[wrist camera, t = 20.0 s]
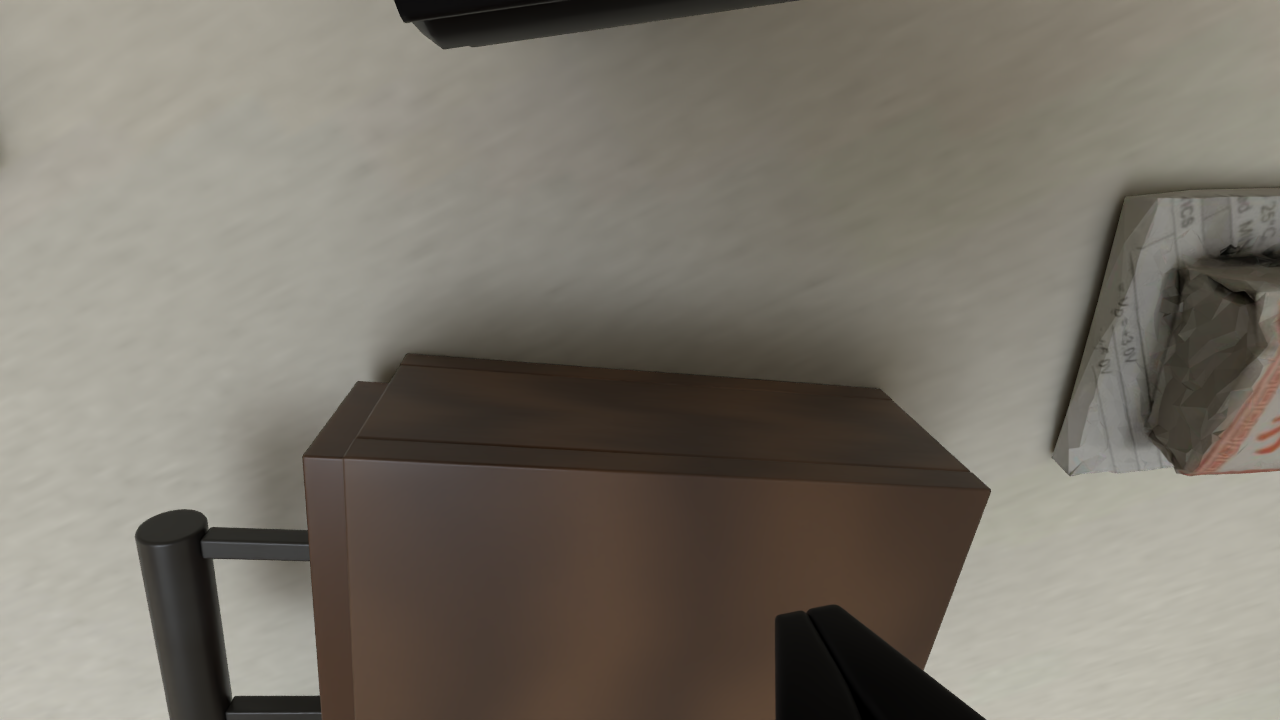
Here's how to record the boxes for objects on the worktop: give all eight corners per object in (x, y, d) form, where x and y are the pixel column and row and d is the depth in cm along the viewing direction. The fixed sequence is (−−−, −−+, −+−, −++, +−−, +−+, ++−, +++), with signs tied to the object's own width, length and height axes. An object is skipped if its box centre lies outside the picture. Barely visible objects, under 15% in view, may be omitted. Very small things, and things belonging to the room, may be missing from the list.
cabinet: (408, 684, 25) (361, 862, 19) (406, 352, 20) (341, 457, 14) (796, 684, 27) (859, 842, 21) (880, 388, 22) (993, 489, 16)
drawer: (240, 693, 23) (171, 821, 19) (197, 369, 18) (94, 445, 14) (750, 693, 26) (785, 804, 22) (821, 411, 21) (882, 484, 17)
